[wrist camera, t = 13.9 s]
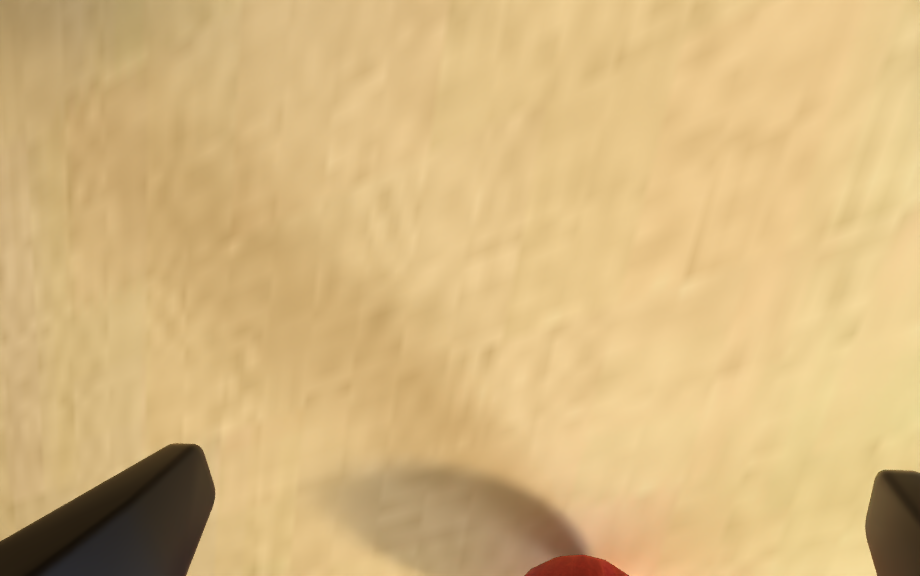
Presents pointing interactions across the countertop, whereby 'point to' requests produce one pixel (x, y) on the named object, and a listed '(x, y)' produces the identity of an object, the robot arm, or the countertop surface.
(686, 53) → the countertop surface
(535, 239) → the countertop surface
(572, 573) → the onion
